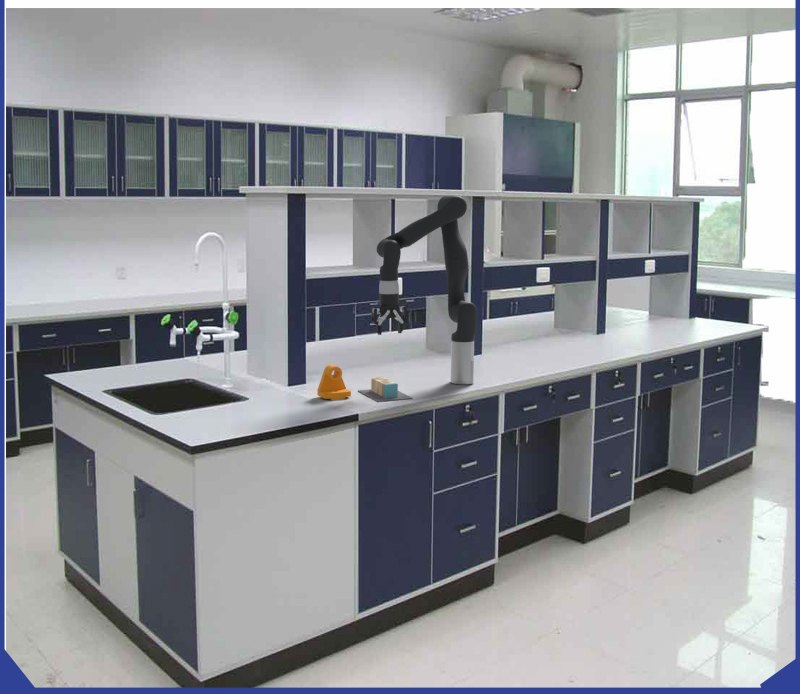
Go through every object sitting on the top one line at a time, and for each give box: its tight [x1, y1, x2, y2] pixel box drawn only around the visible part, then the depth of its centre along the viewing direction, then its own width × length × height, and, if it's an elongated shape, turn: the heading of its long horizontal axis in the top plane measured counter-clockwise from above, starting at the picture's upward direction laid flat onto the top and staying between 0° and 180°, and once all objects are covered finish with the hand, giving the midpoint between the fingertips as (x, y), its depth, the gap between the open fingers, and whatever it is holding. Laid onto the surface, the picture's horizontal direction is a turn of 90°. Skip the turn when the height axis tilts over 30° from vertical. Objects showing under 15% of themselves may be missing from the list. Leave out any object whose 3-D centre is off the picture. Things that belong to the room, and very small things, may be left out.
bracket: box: [316, 364, 352, 401], centre depth 323 cm, size 11×7×12 cm, turn 117°
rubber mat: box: [357, 388, 413, 403], centre depth 328 cm, size 20×14×1 cm
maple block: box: [370, 376, 399, 398], centre depth 329 cm, size 5×5×14 cm
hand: (389, 333), depth 335 cm, fingers open, 8 cm apart
